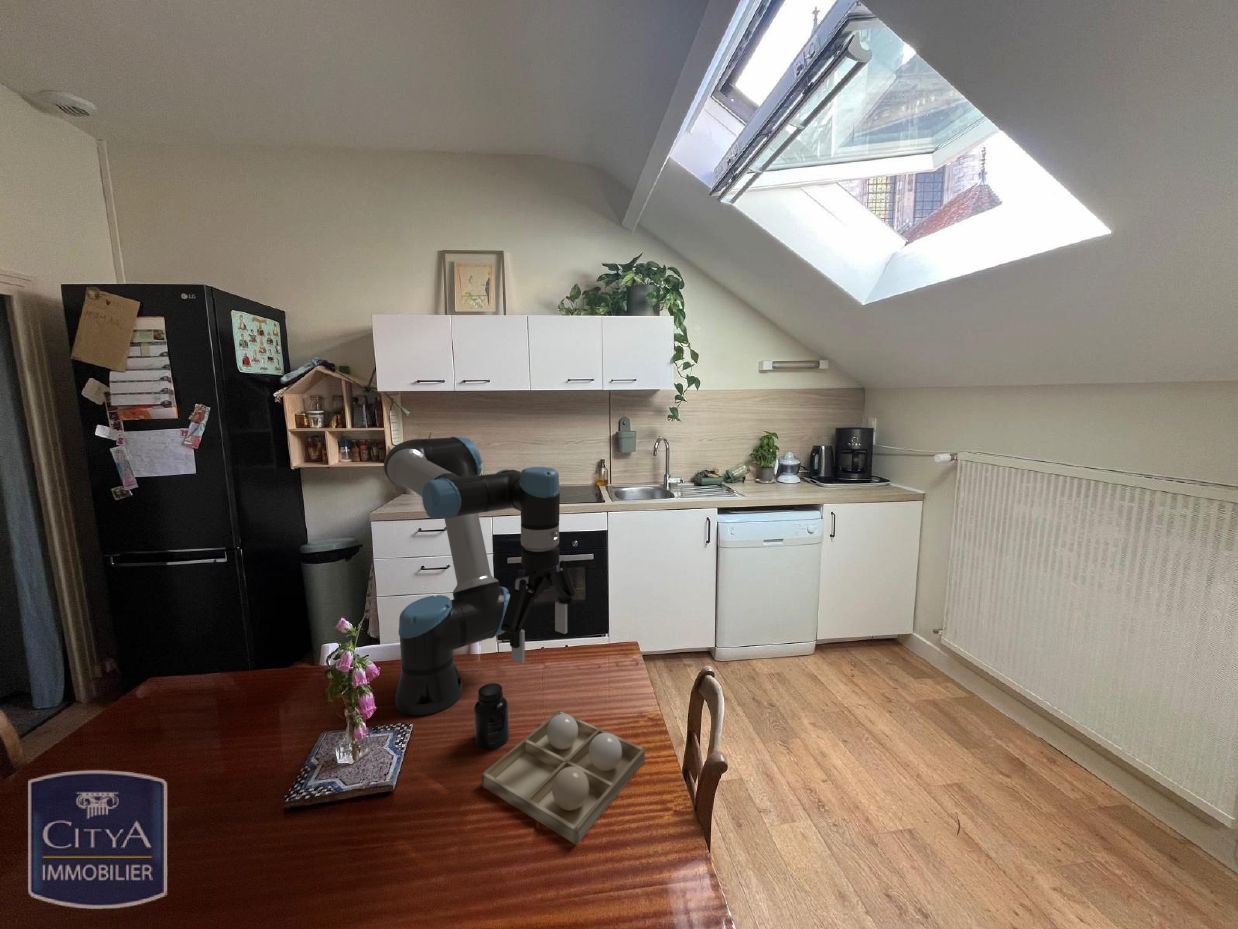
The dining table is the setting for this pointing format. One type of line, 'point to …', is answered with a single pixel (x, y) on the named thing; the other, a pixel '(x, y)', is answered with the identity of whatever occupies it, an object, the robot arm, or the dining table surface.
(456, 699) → the robot arm
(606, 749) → the egg
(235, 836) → the dining table surface
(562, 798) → the egg
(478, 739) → the supplement bottle
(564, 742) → the egg
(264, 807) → the dining table surface
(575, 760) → the crate
